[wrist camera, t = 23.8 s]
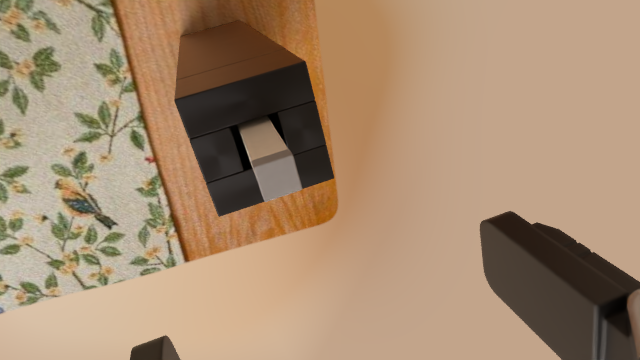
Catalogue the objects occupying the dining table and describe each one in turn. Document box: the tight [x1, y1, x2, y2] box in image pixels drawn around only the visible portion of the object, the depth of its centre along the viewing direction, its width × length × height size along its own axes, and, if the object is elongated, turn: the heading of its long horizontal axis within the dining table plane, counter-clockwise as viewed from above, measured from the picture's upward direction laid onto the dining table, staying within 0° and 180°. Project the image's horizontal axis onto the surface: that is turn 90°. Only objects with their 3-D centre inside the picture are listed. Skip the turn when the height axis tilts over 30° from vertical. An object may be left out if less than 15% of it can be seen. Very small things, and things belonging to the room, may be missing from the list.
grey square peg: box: [237, 115, 302, 202], centre depth 23 cm, size 2×2×10 cm
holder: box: [175, 20, 334, 217], centre depth 37 cm, size 6×6×30 cm
